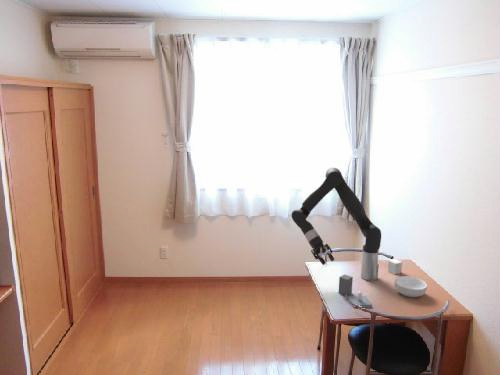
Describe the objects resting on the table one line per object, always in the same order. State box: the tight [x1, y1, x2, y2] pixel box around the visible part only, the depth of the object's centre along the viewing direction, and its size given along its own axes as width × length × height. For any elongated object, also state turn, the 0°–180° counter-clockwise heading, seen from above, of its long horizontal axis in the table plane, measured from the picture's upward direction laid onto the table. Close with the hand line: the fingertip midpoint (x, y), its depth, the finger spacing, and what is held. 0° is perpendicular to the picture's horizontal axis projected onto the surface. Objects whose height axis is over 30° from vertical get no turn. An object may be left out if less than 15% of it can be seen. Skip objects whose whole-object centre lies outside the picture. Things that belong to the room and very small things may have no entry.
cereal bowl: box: [394, 275, 428, 298], centre depth 223 cm, size 17×17×7 cm
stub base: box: [346, 291, 373, 309], centre depth 212 cm, size 10×10×6 cm
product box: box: [387, 258, 403, 275], centre depth 254 cm, size 6×6×7 cm
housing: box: [338, 273, 354, 297], centre depth 223 cm, size 5×5×10 cm
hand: (328, 262), depth 229 cm, fingers open, 8 cm apart
